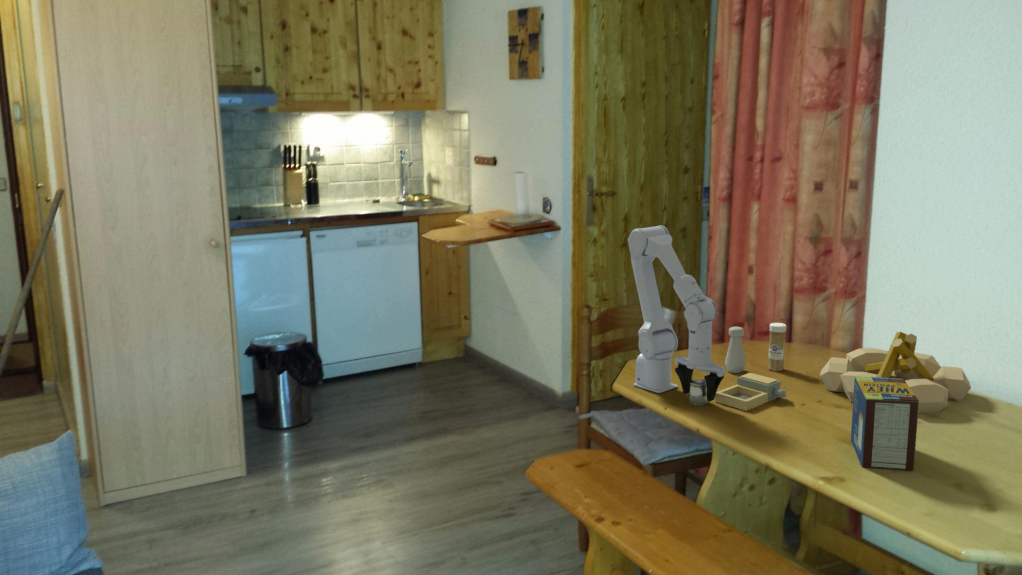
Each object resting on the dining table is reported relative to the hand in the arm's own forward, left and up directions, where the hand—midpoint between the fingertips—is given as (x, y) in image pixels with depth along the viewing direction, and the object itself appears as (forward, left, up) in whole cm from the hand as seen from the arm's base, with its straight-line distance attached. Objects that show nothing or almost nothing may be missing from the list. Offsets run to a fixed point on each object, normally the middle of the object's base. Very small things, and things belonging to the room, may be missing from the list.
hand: (698, 396), depth 221 cm
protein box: (+48, +2, -2) cm, 48 cm away
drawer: (+9, +11, -1) cm, 14 cm away
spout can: (0, 0, -2) cm, 2 cm away
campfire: (+30, +44, -2) cm, 53 cm away
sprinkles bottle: (-2, +39, -2) cm, 39 cm away
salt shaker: (-9, +29, -2) cm, 30 cm away
